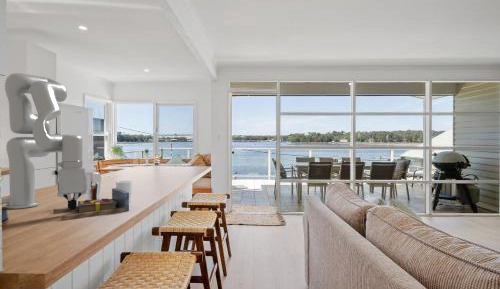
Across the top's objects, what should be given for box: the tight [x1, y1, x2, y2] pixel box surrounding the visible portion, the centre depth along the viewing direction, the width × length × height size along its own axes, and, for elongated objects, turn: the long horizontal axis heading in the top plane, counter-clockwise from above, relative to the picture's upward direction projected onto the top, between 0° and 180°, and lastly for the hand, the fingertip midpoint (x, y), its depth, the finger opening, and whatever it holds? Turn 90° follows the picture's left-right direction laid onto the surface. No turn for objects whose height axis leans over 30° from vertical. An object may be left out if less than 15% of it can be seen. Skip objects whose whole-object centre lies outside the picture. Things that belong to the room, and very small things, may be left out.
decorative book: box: [77, 198, 117, 214], centre depth 145 cm, size 11×16×5 cm
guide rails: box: [53, 187, 130, 221], centre depth 143 cm, size 26×16×8 cm, turn 131°
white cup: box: [115, 180, 134, 203], centre depth 166 cm, size 8×8×10 cm
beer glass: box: [85, 171, 102, 200], centre depth 158 cm, size 7×7×15 cm
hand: (72, 209), depth 138 cm, fingers closed
